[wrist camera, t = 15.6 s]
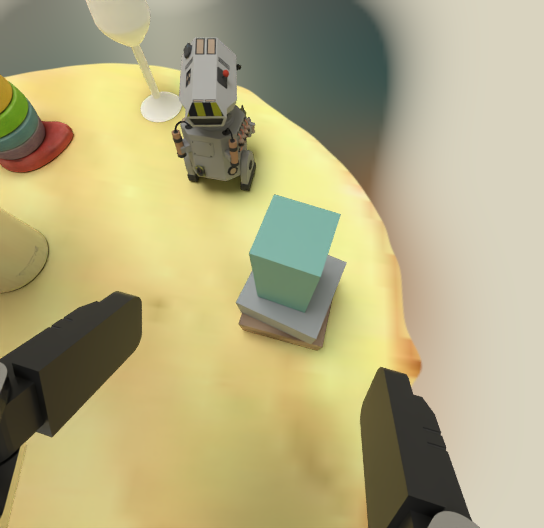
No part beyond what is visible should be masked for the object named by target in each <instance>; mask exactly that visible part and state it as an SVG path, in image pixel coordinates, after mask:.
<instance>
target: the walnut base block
mask: <svg viewBox="0 0 544 528" xmlns="http://www.w3.org/2000/svg"><path fill="white" fill-rule="evenodd" d="M331 303H332V301H331ZM331 303H330V306H329V308H328V311H327V313H326V316H325V318H324V321H323V323H322V326H321V328H320V331H319V334H318V336H317V339H316V340H315V341H314V342H313V343H312V344H309V343H306V342H304V341H302V340H300V339H298V338H296V337H293V336H291V335H289V334H287V333H285V332H283V331H280V330H278V329H276V328H274V327H272V326H270V325H267V324H265V323H263V322H261V321H259V320H257V319H254V318H252V317H250V316H248V315H246V314H244V313H242V315H241V318H240V321H239V325H240V326H241V328H242V329H243V330H245V331H249V332H253V333H256V334H260V335H263V336H267V337H271V338H274V339H278V340H281V341H285V342H288V343H292V344H296V345H299V346H303V347H306V348H310V349H314V350H319V349H320V348H322V346H323V341H324V337H325V332H326V327H327V322H328V317H329V313H330V308H331Z"/></svg>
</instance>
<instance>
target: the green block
mask: <svg viewBox="0 0 544 528" xmlns="http://www.w3.org/2000/svg"><path fill="white" fill-rule="evenodd" d="M340 215H341V214H338V213H335V212H332V211H328V210H325V209H322V208H318V207H315V206H312V205H308V204H305V203H302V202H298V201H295V200H292V199H288V198H285V197H282V196H278V195H275V194H274V196H273V198H272V201H271V203H270V205H269V208H268V210H267V212H266V215H265V217H264V219H263V222H262V224H261V226H260V229H259V231H258V234H257V236H256V238H255V241H254V243H253V245H252V248H251V250H250V252H249V255H250V260H251V265H252V271H253V276H254V281H255V286H256V291H257V296H258V297H261V298H264V299H266V300H269V301H272V302H275V303H278V304H281V305H284V306H286V307H289V308H292V309H295V310H298V311H301V312H303V313H305V311H306V309H307V307H308V304H309V302H310V300H311V298H312V295H313V293H314V291H315V289H316V286H317V284H318V282H319V280H320V277H321V274H322V271H323V268H324V265H325V262H326V259H327V256H328V252H329V249H330V246H331V243H332V240H333V237H334V234H335V230H336V227H337V224H338V221H339V218H340Z"/></svg>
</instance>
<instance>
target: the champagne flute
mask: <svg viewBox="0 0 544 528" xmlns="http://www.w3.org/2000/svg"><path fill="white" fill-rule="evenodd" d="M85 1H86V3H87V5H88V7H89V10H90V12H91V15H92V17H93V19H94V22H95V24H96V25H97V27H98V28H99V29H100V30H101V31H102V32H103V33H104V34H105V35H106V36H108V37H109V38H111V39H112V40H114V41H116V42H119V43H121V44H123V45H126V46H130V47H131V48H132V50H133V52H134V55H135V57H136V59H137V62H138V64H139V66H140V68H141V71H142V73H143V75H144V77H145V80H146V82H147V84H148V86H149V89H150V91H151V93H152V95H150V96H148V97H147V98H146V99H145V100H144V101H143V103H142V105H141V113H142V115H143V116H144V117H145V118H146V119H147V120H149V121H153V122H164V121H167V120H170V119H172V118H174V117H175V116H176V115H177V114H178V113H179V112H180V110H181V107H182V104H181V102H180V101H179V97H178V96H177V95H176V94H174V93H171V92H159V90H158V88H157V85H156V83H155V81H154V78H153V76H152V73H151V71H150V68H149V66H148V64H147V61H146V59H145V56H144V54H143V51H142V49H141V47H140V43H141V42H142V41H143V39H144V37H145V35H146V33H147V31H148V28H149V24H150V9H149V6H148V4H147V2H146V0H85Z"/></svg>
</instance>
